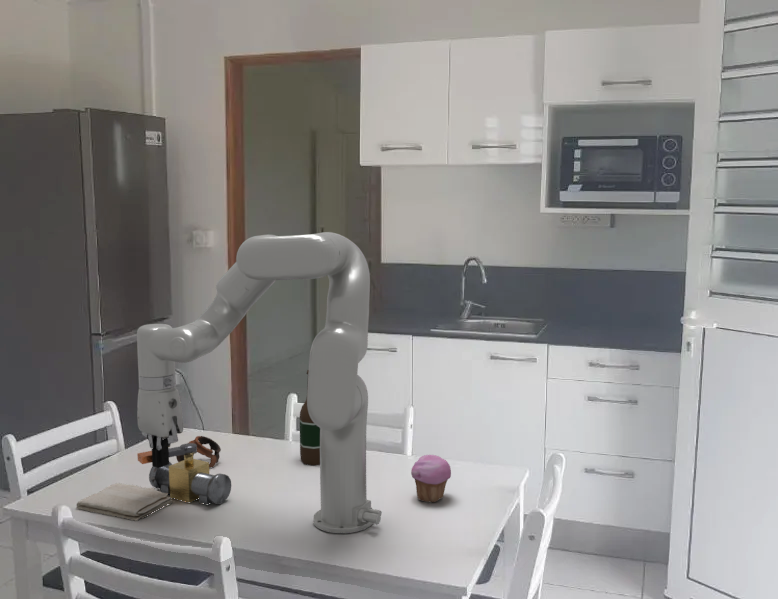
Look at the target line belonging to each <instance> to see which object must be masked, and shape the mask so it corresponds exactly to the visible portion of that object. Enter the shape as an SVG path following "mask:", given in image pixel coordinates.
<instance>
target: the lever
mask: <svg viewBox="0 0 778 599" xmlns="http://www.w3.org/2000/svg"><path fill="white" fill-rule="evenodd" d="M197 453H198V452H197V445H196V444H194V443H189V442H187V443H183V444H181V445H180V446H175V447H169V458H174V457H176V456H179V455H192V454H194V455H195V454H197ZM137 462H139V463H140V464H141V465H145V464H150V463H152V450H149V451H143V452H137Z"/></svg>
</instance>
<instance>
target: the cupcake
mask: <svg viewBox="0 0 778 599" xmlns="http://www.w3.org/2000/svg"><path fill="white" fill-rule="evenodd" d="M410 474H411V477H412V479H414V483H415V489H416V496H417V499H418V500H419V501H422V502H427V503H436V502H438V501H439V500H441V499H443V498H444V495H445V490H446V485H447V482H448V480H449V479H450V478H451V476H452V470H451V466H450V463H449V462H448V461H447V460H446V459H444V458H442V457H441V456H439V455H434V454H424V455H422V456H420V457H419V458H418V459H417V460H416V461H415V462H414V464H413V465H412V468H411V471H410Z"/></svg>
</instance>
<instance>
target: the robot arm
mask: <svg viewBox="0 0 778 599" xmlns="http://www.w3.org/2000/svg"><path fill="white" fill-rule="evenodd" d="M237 249H238V250H237V252H236V258H235V262H234V263H233V265H232V266H231V267H230V268H229V269H228V270H227V271H226V272H225V273H224V275H222V276H221V278H219V280H217V282H216V285H215V286H216V287H215V290H216V296H215V298H214V300H212V302H211V303H210V305H209V306H208V307H207V308H206V309H205V310H204V311H203V313H201V314H200V316H198V318H197V319H196V320H194V321H193V322H190V323H186V324H183V325H181V326H178V327H172V326H171V325H170V324H165V323H149V324H143V325H141V326H139V327H138V328H137V331H136V345H137V346H136V347H137V349H136V350H137V367H138V370H137V371H138V394H137V409H136V411H137V412H136V414H137V415H136V416H137V427H138V429H139V431H140V432H141V435H142V436H143V437H145V438H146V439H147V440H148V445H149V448H150V449H151V451H152V462H151V463H152V464H151V465H152V466H153V467H156V468H160V467H163V466H166V465H168V464H169V462H170V457H169V448H171V444H174V443H178V442H179V437H178V435H179V434H182V433H183V432H184V416H183V408H182V401H181V397H180V392H179V389H178V388H177V383H176V381H177V380H176V363H181V364H183V363H184V364H186V363H190V362H193V361H195V360H197V359H199V358H201V357H203V356H206V355H208V354H210V353H211V352H213V351H214V350H215V349H217V347H218V346H219V345H221V344H222V343H223V342H224V340H225V339H227V337H229V335H230V334H231V333H232V332H234V330H235V328H237V326H238V325H239V323H240V322H241V321H242V319H244V317H245V316H246V315H247V313H248V311H249V310H250V309H251V308H252V306H254V305H255V304H256V303H257V301H259V299H260V298H261V297H262V296H263V295H264V294H265V293H266V292H267V291H268V290H269V289H270V287H272V285H273V284H275V282H276V281H287V280H290V281H291V280H314V279H320V278H325V277H327V278H328V280H329V281H328V282H329V285H328V290H327V296H326V297H327V299H326V314H325V323H324V328H322V329H321V330H320V331H319V332H318V333H317V334H316V335H315V337H314V339H313V341H312V342H311V347H310V351H309V358H308V370H309V373H308V374H307V382H308V391H307V390H306V397H307V408H308V413H309V415H310V418H311V419H312V421H313V422H314V423H315V424H316V425H317V426H318V427H320V465H319V475H320V476H319V477H320V478H319V479H320V481H319V482H320V483H319V484H320V489H319V492H320V509H319V510H317V511H316V512H315V513H314V515H313V516H312V517H313V525H314V526H315V527H316V528H317V529H319V530H320V531H323V532H327V533H332V534H351V533H357V532H360V531H364V530H366V529H368V528H370V527H371V526H372V525H373V524H374V525H379V524H380V523H381V519H382V512H383V511H382V510H380V509H374V508H373V507H372V500H370V499H367V498H368V497H367V426H368V425H367V422H368V410H369V409H368V408H369V391H368V388H367V385H366V383H365V381H364V380H363V379H362V377H361V376H360V375H358V373H359V372H358V369H359V363H360V362H361V361H362V360H363V359H364V358H365V355H366V354H367V351H368V347H369V346H368V345H369V344H368V342H369V340H368V338H369V337H368V336H369V318H370V293H371V292H370V290H371V274H370V269H369V264H368V261H367V258H366V257H365V255H364V253H363V252H362V250H361V249H360V248H359V246H358V245H357V244H355V242H353V241H352V240H350V239H349V238H348V237H346V236H344V235H341V234H339V233H335V232H331V231H325V232H318V233H317V232H316V233H312V234H311V233H310V234H296V235H279V236H278V235H275V234H262V235H254V236H251V237H248V238H247V239H245V240H244V241H243V242H242V244H240V246H239V248H237ZM152 466H151V467H152Z"/></svg>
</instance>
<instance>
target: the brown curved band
mask: <svg viewBox="0 0 778 599" xmlns="http://www.w3.org/2000/svg"><path fill="white" fill-rule="evenodd" d="M188 443H194V444H196V445H197V453H198V454H200V455H202V456H205V457H206V458H208V459H210V461H209V469H210V468H211V467H213V468H214V467H215V466H216V463H218V462H219V460H220V453H221V451H222V448H221V447H220V445H219V444H218V443H217V442H216V441H215V440H213V439H212V438H210V437H207V436H204V435H197V436H195V438H194V439H192V440H190V441H189V442H188ZM204 445H209V448H208V447H206V446H204ZM213 453H214V454H213ZM194 455H195V454H193V457H194ZM175 458H176V460H177V463H178V462H181V461H183V460H184V455H179V456H175ZM211 469H212V468H211Z"/></svg>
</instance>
